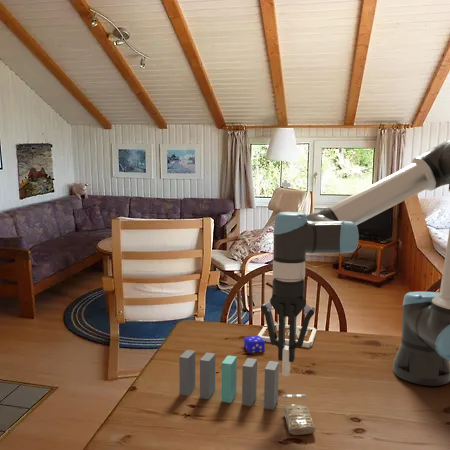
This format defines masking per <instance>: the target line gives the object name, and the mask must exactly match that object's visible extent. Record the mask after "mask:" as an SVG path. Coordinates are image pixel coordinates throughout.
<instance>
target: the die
mask: <svg viewBox="0 0 450 450" xmlns="http://www.w3.org/2000/svg"><path fill="white" fill-rule="evenodd" d="M243 340H244V341H243V345H244V348H245V350H247V351H246V352H248V354H251V353H261V352H265V347H266V346H265V343H266V342H265V341H264V340H263V339H262V338H261V337H260V336H257V335H254V336H253V335H252V336H244V338H243Z"/></svg>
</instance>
